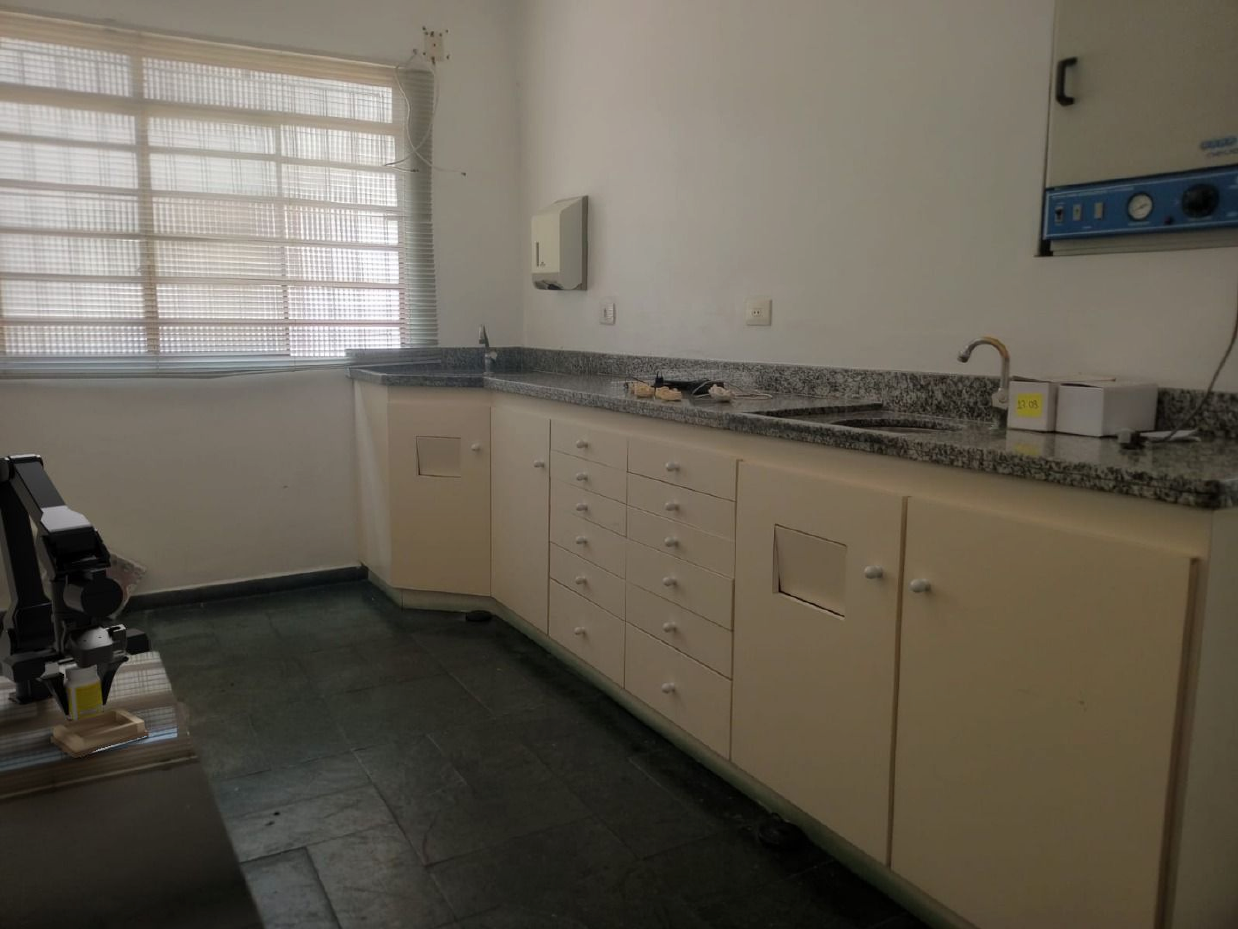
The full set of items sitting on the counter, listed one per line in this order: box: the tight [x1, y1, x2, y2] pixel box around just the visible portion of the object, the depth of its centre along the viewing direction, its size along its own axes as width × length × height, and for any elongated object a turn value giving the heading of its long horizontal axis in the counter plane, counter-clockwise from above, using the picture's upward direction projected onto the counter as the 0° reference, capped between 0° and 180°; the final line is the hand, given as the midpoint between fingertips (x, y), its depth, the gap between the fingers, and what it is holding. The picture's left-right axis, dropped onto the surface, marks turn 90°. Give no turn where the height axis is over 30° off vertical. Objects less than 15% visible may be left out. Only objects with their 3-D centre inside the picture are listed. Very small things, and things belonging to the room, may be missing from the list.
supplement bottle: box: [64, 663, 105, 722], centre depth 142 cm, size 5×5×8 cm
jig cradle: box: [50, 707, 150, 759], centre depth 135 cm, size 10×10×2 cm
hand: (84, 709), depth 142 cm, fingers closed on supplement bottle, 5 cm apart
